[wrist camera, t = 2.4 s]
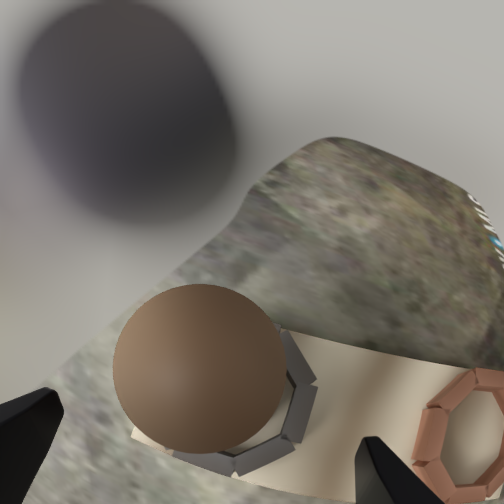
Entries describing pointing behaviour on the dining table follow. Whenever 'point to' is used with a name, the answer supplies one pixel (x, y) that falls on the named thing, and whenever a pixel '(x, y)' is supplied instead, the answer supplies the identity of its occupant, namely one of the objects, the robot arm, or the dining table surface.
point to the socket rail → (370, 424)
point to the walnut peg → (199, 369)
